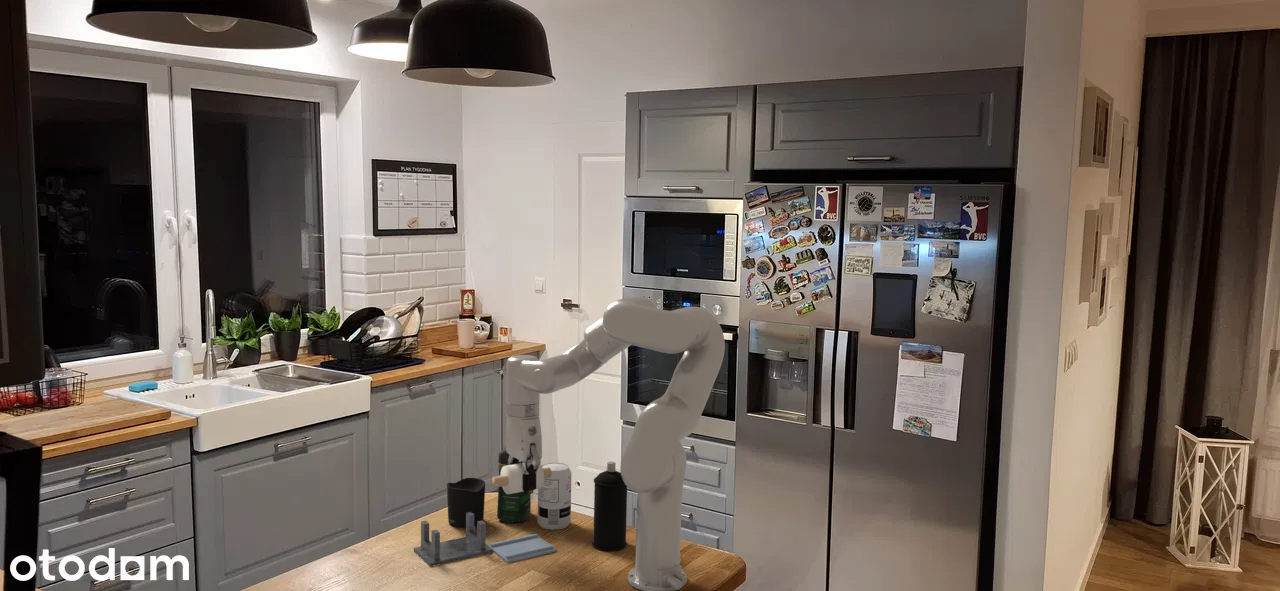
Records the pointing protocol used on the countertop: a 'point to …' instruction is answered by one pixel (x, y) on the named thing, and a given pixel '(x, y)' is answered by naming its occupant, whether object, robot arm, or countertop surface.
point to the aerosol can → (610, 510)
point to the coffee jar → (512, 498)
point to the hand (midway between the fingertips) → (522, 485)
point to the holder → (453, 544)
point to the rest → (521, 548)
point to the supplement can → (555, 498)
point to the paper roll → (518, 478)
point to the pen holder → (465, 501)
